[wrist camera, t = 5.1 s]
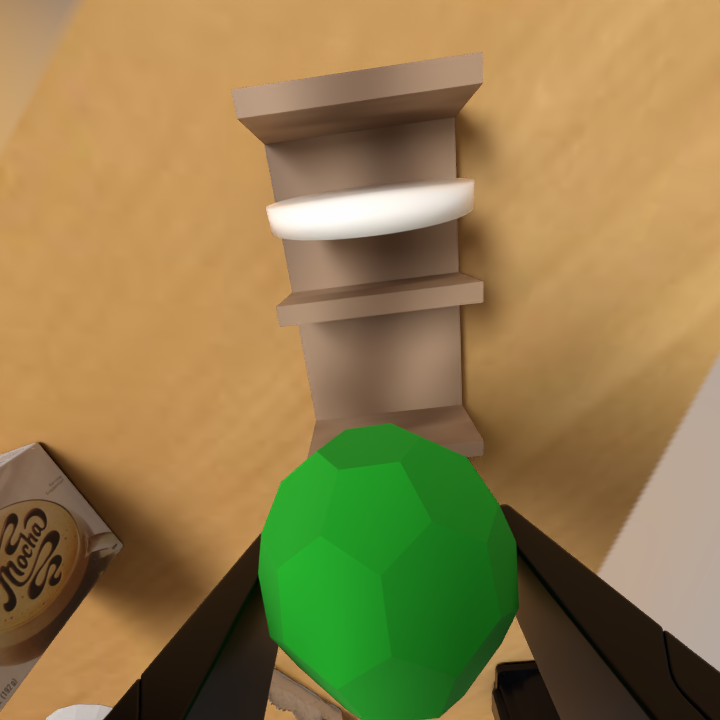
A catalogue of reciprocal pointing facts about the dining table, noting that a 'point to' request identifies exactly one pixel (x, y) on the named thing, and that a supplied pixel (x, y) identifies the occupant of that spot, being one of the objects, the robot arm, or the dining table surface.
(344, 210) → the saucer
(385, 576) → the polyhedron
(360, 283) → the rack
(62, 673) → the dining table surface
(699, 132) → the dining table surface
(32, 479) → the coffee box
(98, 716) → the french press
